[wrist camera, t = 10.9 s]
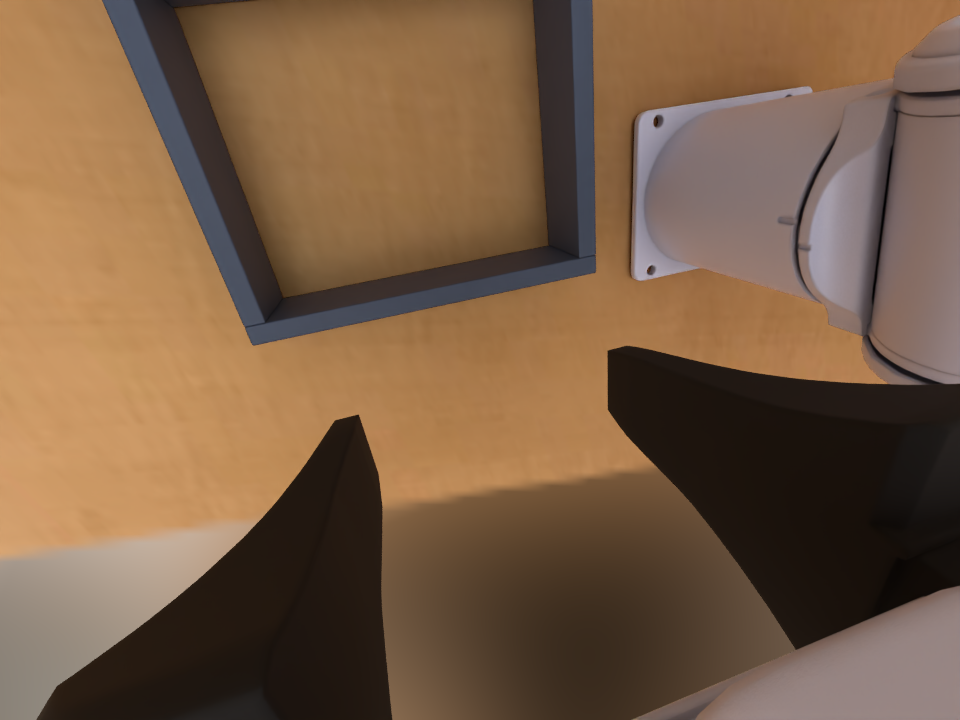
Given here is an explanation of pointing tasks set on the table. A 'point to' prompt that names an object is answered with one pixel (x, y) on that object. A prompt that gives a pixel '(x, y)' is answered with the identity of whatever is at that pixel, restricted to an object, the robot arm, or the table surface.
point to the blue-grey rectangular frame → (267, 317)
